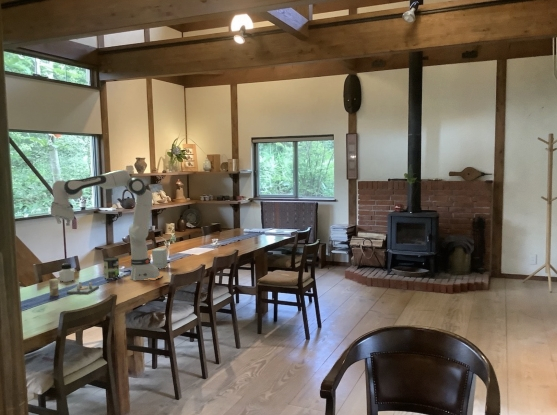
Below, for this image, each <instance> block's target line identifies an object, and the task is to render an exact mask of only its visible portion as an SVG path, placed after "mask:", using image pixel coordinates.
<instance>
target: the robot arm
mask: <svg viewBox="0 0 557 415" xmlns="http://www.w3.org/2000/svg"><path fill="white" fill-rule="evenodd" d="M130 175H131V174H130V173H129V172H128V171H127V170H126V169H121V170H115V171H111V172H107V173H103V174H100V175H99V174H98V175H93V176H89V177H85V178H71V179H67V181H65V179H64V180H63V179H60V180H56V181H55V182H53V184H52V195H53V201H52V202H51V205H50V216H52V217H54V218H55V219H56V224H61V223H62V221H61V220H65V221H66V223H65V226H66V227H70V226H71V221H74V220H75V212H74V205H73V203H71V202H70V201H69V200H78V199H81V197H82V196H83V194H84V192H83V189H88V188H91V187H92V188H93V187H101V188H102V189H105V190H111V189H115V188H118V187H122V186H123V187H125V188H126V190H127V192H129V193H131V194H133V195H135V196H136V200H135V205H134V210H133V220H132V221H133V223H132V224H131V225H130V226H129V227H128V238H129V243H130V250H131V251H130V252H131V253H130V254H131V259H130V266H131V270H130V272H131V273H130V278H131V279H130V278H129V279H130V280H132V279H133V280H132V281H134V280H144V279H148V278H156V277H158V276H159V275H160V274H161V273H160V269H158V268H157V267H155V266H154V265H153V263H151V261H152V259H151V258H149V257H148V244H147V238H148V236H149V231H150V230H149V228H150V216H151V210H152V204H153V193H152V191H151V190H149V189H147V188H146V185H145V182H144V181H143V179H141V178H139V177H132V176H130Z"/></svg>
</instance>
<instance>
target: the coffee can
mask: <svg viewBox="0 0 557 415" xmlns="http://www.w3.org/2000/svg"><path fill="white" fill-rule="evenodd" d="M119 261H120V260H119V257H106V258H103V272H104V279H105V278H106V279H105V280H107V279H112V278H116V277H118V275H119V276H120V267H119V266H120V264H119ZM112 280H113V279H112Z"/></svg>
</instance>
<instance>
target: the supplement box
mask: <svg viewBox="0 0 557 415" xmlns="http://www.w3.org/2000/svg"><path fill="white" fill-rule="evenodd" d="M167 250H168V249H167V248H154V249H152V250H151V255H152V256H151V258H152V259H151V261H152V264H153V265H154V266H155V267H157V268H165V267H166V266H167V267H168V252H167ZM167 267H166V268H167ZM166 268H165V269H166Z"/></svg>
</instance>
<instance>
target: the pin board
mask: <svg viewBox="0 0 557 415" xmlns="http://www.w3.org/2000/svg"><path fill="white" fill-rule="evenodd" d="M82 284H83V283H82V281H78V284H76V286H75V287H73V288H71V289H69V290H67V291H66V293H67V294H68V295H72V294H74V295H75V294H76V295H88V293H89V294H91V293H92V292H94V291H97V290H98V289H99V285H93V284H92V281H91V282H88V285H82ZM97 288H98V289H97ZM90 292H91V293H90Z"/></svg>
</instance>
